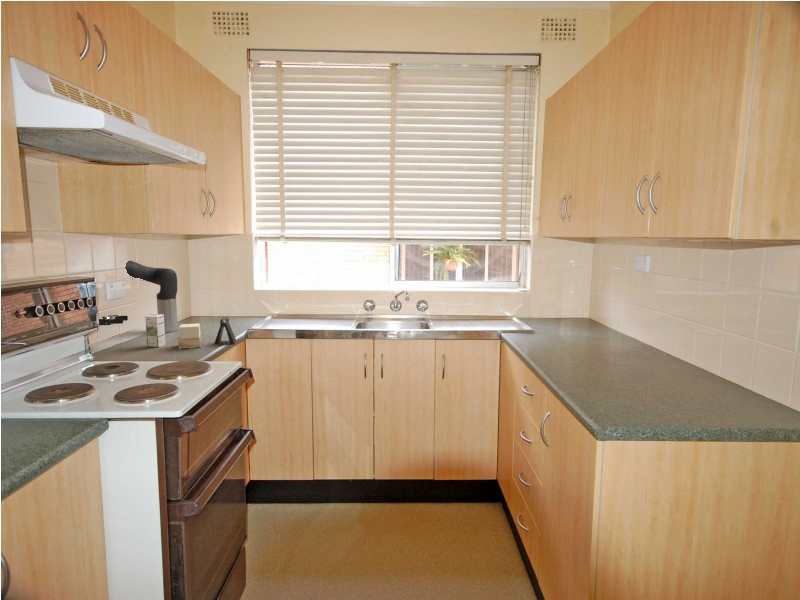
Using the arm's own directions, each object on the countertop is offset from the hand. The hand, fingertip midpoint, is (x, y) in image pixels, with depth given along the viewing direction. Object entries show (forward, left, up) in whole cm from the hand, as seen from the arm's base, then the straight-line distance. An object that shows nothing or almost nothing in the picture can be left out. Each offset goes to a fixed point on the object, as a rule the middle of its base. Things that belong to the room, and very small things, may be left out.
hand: (125, 319), depth 215 cm
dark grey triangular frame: (+2, +42, -13) cm, 44 cm away
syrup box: (0, +12, -13) cm, 18 cm away
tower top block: (+5, +27, -8) cm, 28 cm away
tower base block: (+5, +27, -13) cm, 30 cm away
